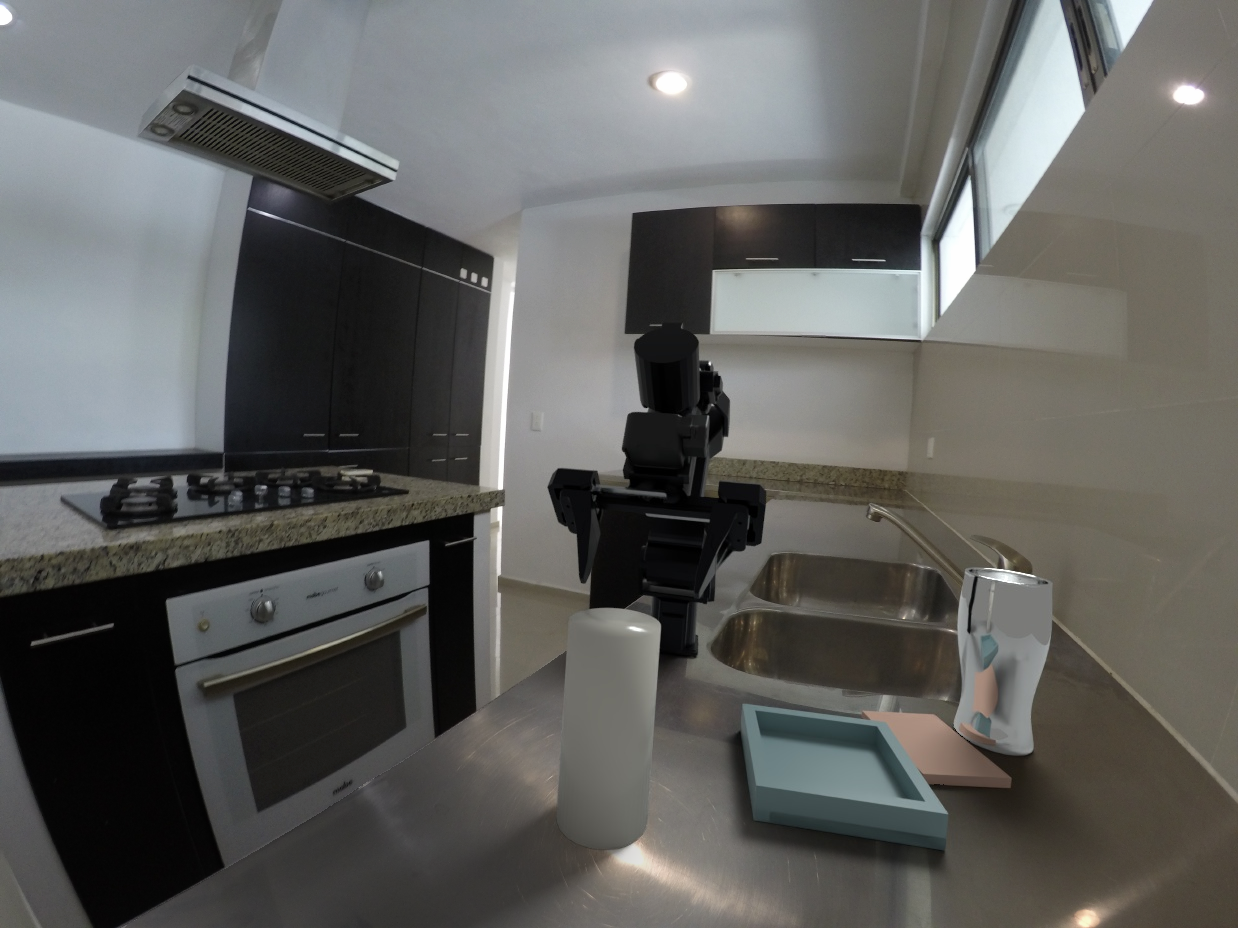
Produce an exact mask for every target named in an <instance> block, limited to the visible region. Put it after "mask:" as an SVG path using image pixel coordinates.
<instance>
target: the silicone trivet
mask: <svg viewBox="0 0 1238 928" xmlns="http://www.w3.org/2000/svg"><path fill="white" fill-rule="evenodd" d="M861 717H862V718H863V719H866V720H874V721H881V722H886V723H887V725H888V726H889V728H890V729H891V731H892V732H893V734H894V735H895V736H896V738H897V739H898V741H899V742H900V744H901V745H902V747H903V748H904V750H905V751H906V753H907V754H908V755H909V757H910V758H911V760H912V761H913V763H914V764H915V766H916V767H917V769H918V770H919V772H920V773H921V775H922V776H923V777H924V779H925V780H926V782H927V783H928V785H934V784H940V785H939V786H958V787H960V786H961V787H981V788H999V789H1011V786H1012V777H1011V776H1010V775H1008V773H1006V772H1005V771H1004V770H1002V768H1000V767H999V766H998V765H997V764H995V763H994V762H993V761H992V760H991V759H989V758H988V757H987V756H985V755H984V754H983V753H982V752H981V751H980V750H978V749H977V748H976V747H975V746H974V745H973V744H972V743H971V742H969V741H967V740H966V739H964V738H963V737H961V736H960V735H959V734H958V733H957V732H956V731H955V729H954V730H953V729H952V727H950V726H949V725H948V724H946V723H945V722H944V721H943V720H942V719H941V718H939V717H938V716H937V715H936V714H933V713H931V714H930V713H913V712H892V711H877V710H876V711H874V710H873V711H872V710H861ZM943 784H944V785H943Z"/></svg>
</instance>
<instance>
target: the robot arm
mask: <svg viewBox="0 0 1238 928" xmlns="http://www.w3.org/2000/svg"><path fill="white" fill-rule="evenodd" d="M633 351H634V358H635V359H634V360H635V367H636V368H635V369H636V378H637V385H638V392H639V400H640V404H641V406H642V408H644V409H647V412H646V411H631V412H629V413H628V414H627V415H626V420H625V427H624V433H623V438H622V444H621V452H622V453H624V456H625V460H624V464H623V467H622V474H623V479H624V480H628V484H627V486H620V485H619V486H618V485H606V484H601V481H600V476H599V472H598V470H594V469H593V470H592V469H583V468H582V469H581V468H570V467H557V469H556V470H555V471H553V472H552V474H551V477H550V479H549V482H548V484H547V492H548V494H549V497H550V500H551V503H552V507H553V509H554V513H555V517H556V519H557V522H558V524H560V525H562V526H564V527H567V529H568V531H569V532H570V533H571V534H573V535H576V547H577V566H578V567H577V568H578V578H579V581H580V584H584V585H586V584H587V582H588V579H589V577H590V575H591V572H592V570H593V566H594V560H595V557H596V553H597V549H598V545H599V541H600V537H601V529H600V525H601V523H602V519H603V516H604V510H607V511H617V512H628V513H634V515H635V514H636V515H642V516H643V515H646V516H647V517H652V518H654V519H653V520H652V521H651V526H650V531H649V534H648V538H647V540H646V545H642V546H641V548H640V551H639V556H638V566H637V567H638V570H637V571H638V596H641V597H643V596H647V597H651V605H650V616H652V617H654V618H655V619H657V620H658V621H659V622H660V624H661V634H660V648H659V653H665V654H667V653H668V654H677V655H684V656H691V657H692V656H693V657H696V656H699V635H698V634H696V633H697V632H696V631H697V622H698V621H697V619H698V609H699V608H698V605H699V603H700V604H702V605H708V603H712V602H715V601H716V587H717V586H716V585H717V571H718V570H719V568H720V567H721V566H722V565H723V564H724V563H725V562H726V561H727V559H728V558H729V557H730V556H732V554H733V553H734V552H737V553H738V552H739V553H741V552H744V551H745V550H746V549H747V546H748V547H756V546H759V545H760V544H762V541H763V533H764V524H765V516H766V508H767V490H766V489H765V488H764V487H763V486H762V484H761V483H758V482H757V483H755V482H744V481H734V480H733V481H731V480H719V481H718V486H717V488H718V489H717V496H718V497H711V496H710V497H708V496H705V492H706V487H707V486H706V485H707V479H708V473H709V467H710V462H711V461H710V460H711V459H713V458H714V457H715V456H716V455H718V454H719V453H720V452H722V450H723V446H724V440H725V438H729V434H730V422H731V399H730V398H729V397H728V396H727V394H726V392H724V382H723V379H722V376H721V375H719V371H717V370H715V369H714V364H713V362H712V361H711V360H705V359H704V360H703V359H700V341H699V339H698V337H697V336H696V335H695V334H694V333H692V332H691V331H689V330H687V329H684V323H683V322H681V321H680V322H676V321H675V322H672V321H667V322H662V323H661V327H660V328H656V329H653V330H650V331H647V332H645V333H644V334H642V335H641V336H640V337H639V338H636V339H635V341H634V343H633ZM705 523H708V526H707V532H706V525H705Z"/></svg>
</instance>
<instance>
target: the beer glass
mask: <svg viewBox="0 0 1238 928" xmlns="http://www.w3.org/2000/svg"><path fill="white" fill-rule="evenodd" d="M1053 586H1054V583H1053V582H1052V581H1050V580H1049V579H1046V578H1044V577H1040V576H1036V575H1034V574H1033V575H1032V574H1028V573H1024V572H1019V571H1013V570H1006V569H999V568H991V567H979V566H978V567H976V566H975V567H966V568H965V569H964V576H963V581H962V587H961V592H960V597H959V603H958V610H957V611H958V612H957V626H956V627H957V642H958V643H957V644H958V645H957V646H958V652H959V655H958V656H959V663H960V673H961V694H960V700H959V705H958V707H957V711H956V714H955V716H954V720H953V724H954V726H953V729H954V728H955V729H956V731H957V732H958V733H959V734H960V735H961V736H963V737H964V738H965V740H966V741H967V740H968V741H967V742H969V741H970V742H969V743H970V744H972V745H975V746H977V747H979V748H981V749H983V750H986V751H990V752H994V753H997V754H1001V755H1007V756H1014V757H1015V756H1016V757H1017V756H1018V757H1020V756H1021V757H1022V756H1027V755H1030V754H1031V753H1032V752H1033V751H1034V737H1033V729H1032V718H1031V716H1032V707H1033V701H1034V697H1035V694H1036V690H1037V688H1038V685H1039V681H1040V678H1041V677H1042V672H1043V669H1044V667H1045V664H1046V661H1047V657H1048V653H1049V650H1050V646H1051V645H1050V644H1051V636H1052V630H1053V629H1052V627H1053ZM955 729H954V730H955ZM956 731H955V732H956ZM957 732H956V733H957ZM958 733H957V734H958ZM963 737H962V738H963ZM964 738H963V739H964Z"/></svg>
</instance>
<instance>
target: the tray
mask: <svg viewBox="0 0 1238 928" xmlns="http://www.w3.org/2000/svg"><path fill="white" fill-rule="evenodd" d="M741 704H742V705H741V718H740V727H739V728H740V729H739V730H740V738H741V744H742V751H743V758H744V763H745V769H746V778H747V784H748V785H747V786H748V790H749V791H748V792H749V798H750V805H751V812H752V819H753V821H756V822H761V823H762V822H764V823H770V824H775V825H781V826H789V827H794V828H800V829H805V830H807V829H808V830H813V831H819V832H826V833H831V834H837V835H838V834H839V835H844V836H851V837H857V838H862V839H863V838H864V839H870V840H877V841H883V842H888V843H895V844H901V845H908V846H914V847H920V848H926V849H933V850H939V851H945V852H946V847H947V846H946V844H947V834H948V825H949V812H948V811H947V810H946V809H945V808H946V807H944V806H943V804H942V803H941V801H940V799H939V798H938V797H937V795H936V794H935V792H934V791H933V790H932V787H930V784H928V783H927V782H926V780H925V779H924V777H923V776H922V775H921V773H920V772H919V770H918V769H917V767H916V766H915V764H914V763H913V761H912V760H911V758H910V757H909V755H908V754H907V753H906V751H905V750H904V748H903V747H902V745H901V744H900V742H899V741H898V739H897V738H896V736H895V735H894V734H893V732H892V731H891V729H890V728H889V726H888V725H887V723H886V722H881V721H874V720H866V719H861V718H858V717H857V718H856V717H850V716H842V715H834V714H825V713H817V712H811V711H802V710H796V709H788V708H782V707H781V708H780V707H773V706H772V707H771V706H765V705H759V704H758V705H756V704H751V703H741Z"/></svg>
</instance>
